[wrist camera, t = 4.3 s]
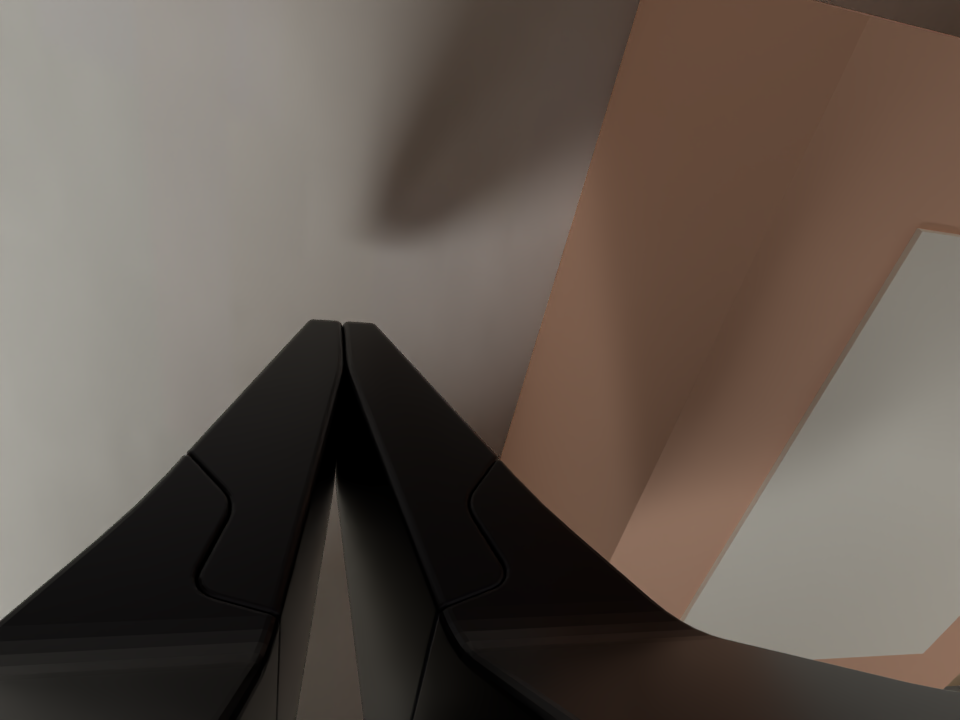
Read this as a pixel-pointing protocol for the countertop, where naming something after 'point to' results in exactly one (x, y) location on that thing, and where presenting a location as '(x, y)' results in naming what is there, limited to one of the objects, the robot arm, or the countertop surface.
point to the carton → (767, 334)
